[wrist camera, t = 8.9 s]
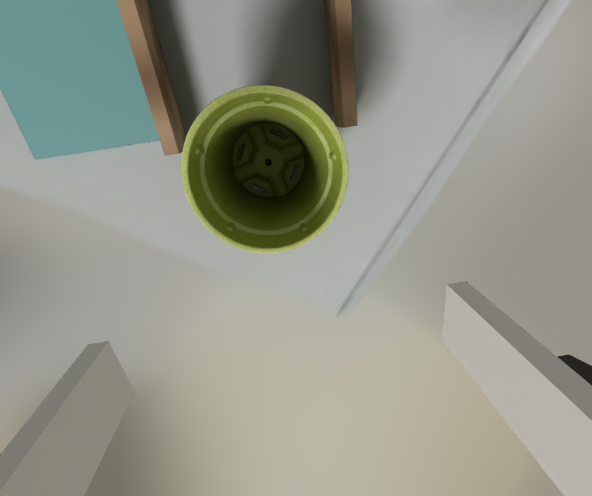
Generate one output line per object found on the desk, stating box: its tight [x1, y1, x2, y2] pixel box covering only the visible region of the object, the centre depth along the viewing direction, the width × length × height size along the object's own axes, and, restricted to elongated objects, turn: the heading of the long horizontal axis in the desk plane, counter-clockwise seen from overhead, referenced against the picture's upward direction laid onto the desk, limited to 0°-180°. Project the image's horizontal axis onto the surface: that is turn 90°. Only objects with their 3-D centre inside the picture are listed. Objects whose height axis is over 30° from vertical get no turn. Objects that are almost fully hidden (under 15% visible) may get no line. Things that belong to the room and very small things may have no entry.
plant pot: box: [181, 85, 348, 253], centre depth 21 cm, size 9×9×9 cm
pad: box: [0, 0, 160, 160], centre depth 21 cm, size 10×10×1 cm
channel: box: [116, 0, 357, 156], centre depth 21 cm, size 10×14×3 cm
